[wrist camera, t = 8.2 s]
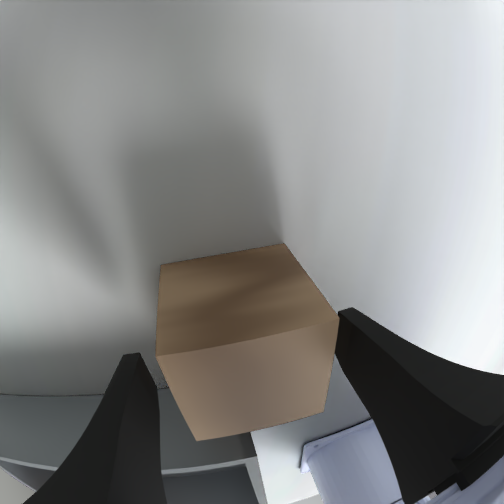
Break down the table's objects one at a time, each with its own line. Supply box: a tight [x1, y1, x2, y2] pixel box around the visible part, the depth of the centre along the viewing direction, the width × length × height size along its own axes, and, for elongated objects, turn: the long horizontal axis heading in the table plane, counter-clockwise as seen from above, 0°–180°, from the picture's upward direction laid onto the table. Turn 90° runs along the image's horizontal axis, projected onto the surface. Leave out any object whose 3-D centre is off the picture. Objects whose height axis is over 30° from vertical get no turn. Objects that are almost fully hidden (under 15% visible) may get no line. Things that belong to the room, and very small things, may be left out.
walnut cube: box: [155, 243, 339, 441], centre depth 11 cm, size 5×5×5 cm
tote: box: [0, 388, 268, 504], centre depth 15 cm, size 17×13×5 cm
